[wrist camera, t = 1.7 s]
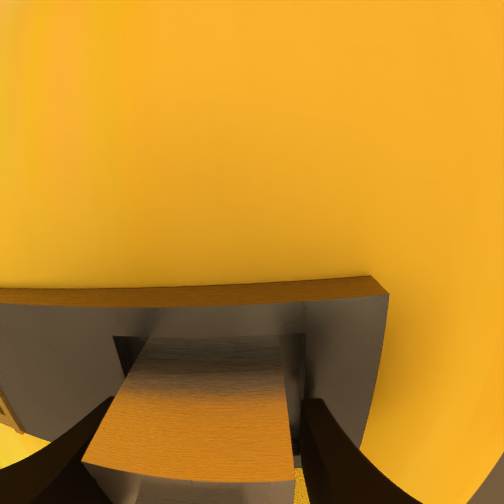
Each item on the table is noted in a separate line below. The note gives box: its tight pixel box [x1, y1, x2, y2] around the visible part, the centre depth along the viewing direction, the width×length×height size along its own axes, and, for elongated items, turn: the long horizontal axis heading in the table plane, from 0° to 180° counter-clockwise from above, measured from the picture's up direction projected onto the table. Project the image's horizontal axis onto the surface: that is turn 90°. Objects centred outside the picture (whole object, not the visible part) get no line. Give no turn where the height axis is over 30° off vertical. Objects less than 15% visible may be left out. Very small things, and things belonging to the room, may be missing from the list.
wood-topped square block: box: [81, 339, 295, 504], centre depth 8 cm, size 4×4×6 cm
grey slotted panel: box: [0, 276, 389, 468], centre depth 10 cm, size 8×26×2 cm, turn 94°
